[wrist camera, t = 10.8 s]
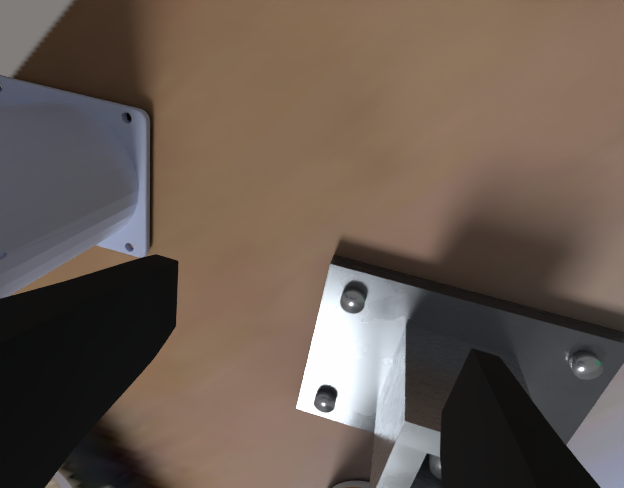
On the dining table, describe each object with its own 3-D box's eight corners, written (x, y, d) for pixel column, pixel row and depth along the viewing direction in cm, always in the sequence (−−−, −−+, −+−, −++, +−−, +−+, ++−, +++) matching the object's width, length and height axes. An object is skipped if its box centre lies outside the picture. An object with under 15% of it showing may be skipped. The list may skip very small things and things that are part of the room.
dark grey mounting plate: (300, 396, 25) (270, 488, 20) (333, 255, 20) (307, 323, 15) (533, 468, 23) (570, 590, 18) (624, 332, 19) (709, 441, 13)
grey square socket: (377, 401, 22) (367, 508, 17) (405, 324, 20) (404, 421, 15) (475, 432, 22) (496, 552, 16) (516, 356, 19) (557, 469, 14)
